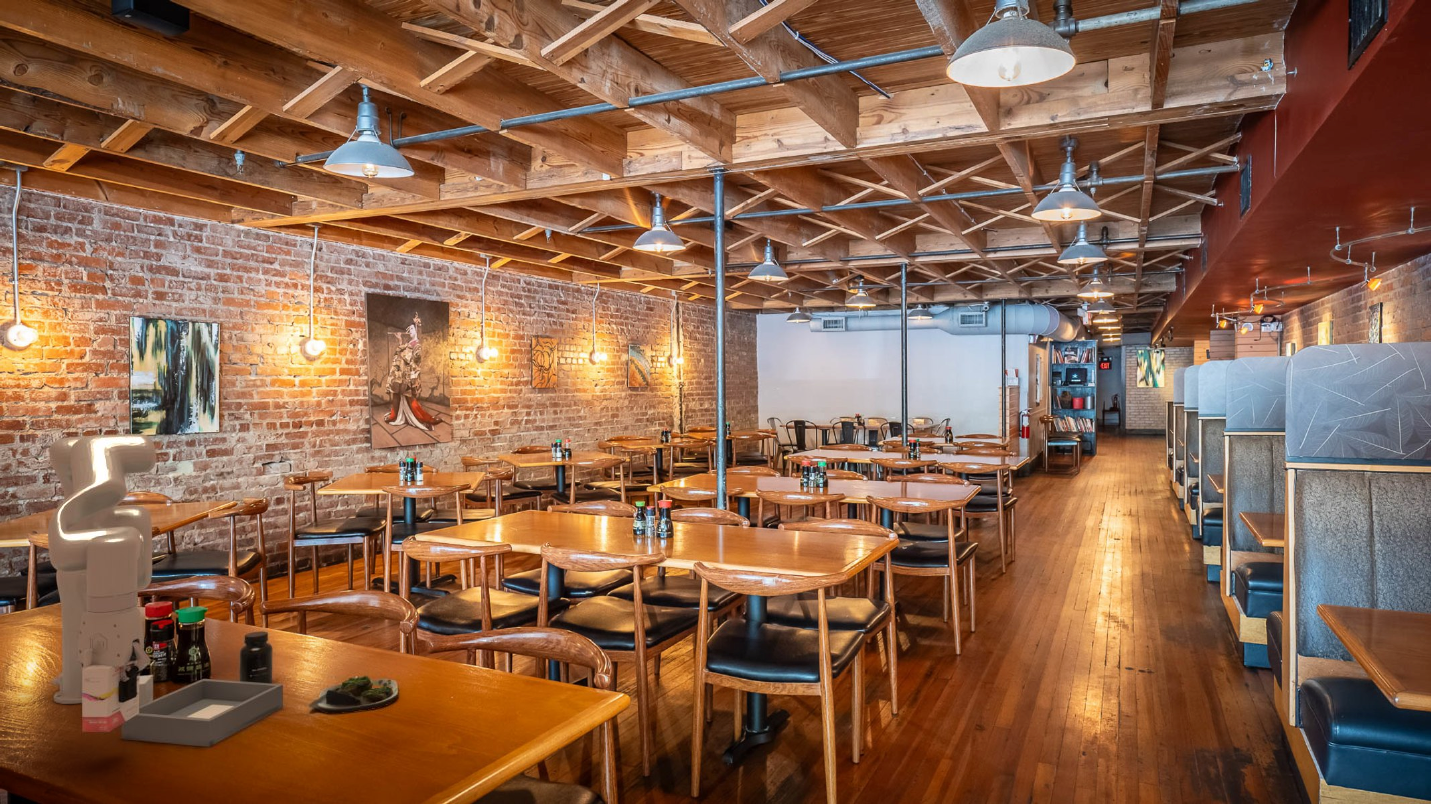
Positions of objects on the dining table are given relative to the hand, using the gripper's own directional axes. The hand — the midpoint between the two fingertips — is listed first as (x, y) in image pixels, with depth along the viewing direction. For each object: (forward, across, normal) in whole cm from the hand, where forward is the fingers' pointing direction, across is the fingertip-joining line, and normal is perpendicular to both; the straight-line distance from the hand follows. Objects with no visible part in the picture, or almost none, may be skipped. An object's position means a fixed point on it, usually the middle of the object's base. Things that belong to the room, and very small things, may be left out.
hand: (113, 697), depth 150 cm
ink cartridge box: (+5, 0, 0) cm, 5 cm away
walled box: (+12, +3, +18) cm, 22 cm away
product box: (+13, -16, +19) cm, 28 cm away
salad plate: (+13, +26, +35) cm, 46 cm away
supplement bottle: (+13, -3, +39) cm, 42 cm away
